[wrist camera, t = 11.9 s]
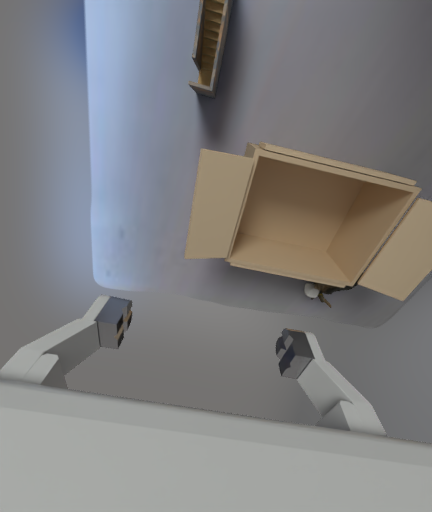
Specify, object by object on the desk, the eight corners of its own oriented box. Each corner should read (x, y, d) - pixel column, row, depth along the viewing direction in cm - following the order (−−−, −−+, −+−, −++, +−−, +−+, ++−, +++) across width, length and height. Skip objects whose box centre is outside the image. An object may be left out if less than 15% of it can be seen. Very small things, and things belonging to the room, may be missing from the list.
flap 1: (252, 158, 24) (201, 148, 21) (254, 159, 23) (202, 149, 21) (225, 255, 30) (184, 256, 28) (226, 257, 30) (185, 258, 28)
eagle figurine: (334, 297, 45) (367, 269, 39) (326, 317, 40) (363, 288, 34) (303, 274, 47) (330, 245, 42) (292, 290, 42) (321, 259, 37)
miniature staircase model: (211, -33, 24) (203, -120, 15) (238, -24, 24) (244, -105, 15) (193, 92, 29) (180, 79, 21) (215, 98, 30) (210, 88, 21)
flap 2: (419, 198, 25) (481, 215, 23) (417, 197, 25) (478, 214, 24) (357, 284, 31) (402, 301, 30) (357, 282, 32) (401, 299, 30)
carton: (248, 137, 31) (257, 142, 23) (373, 168, 33) (425, 183, 24) (224, 235, 40) (223, 264, 31) (324, 256, 41) (350, 290, 33)
